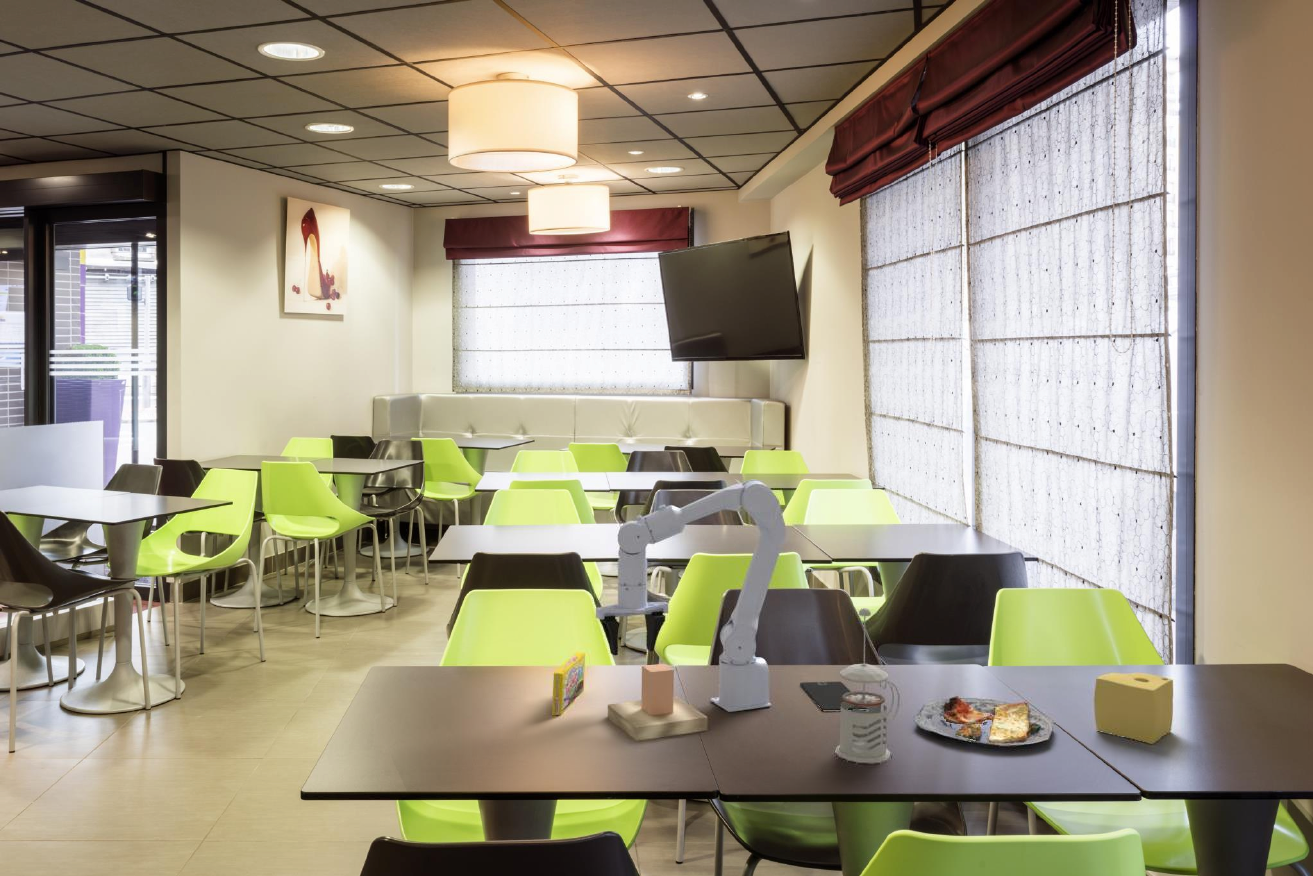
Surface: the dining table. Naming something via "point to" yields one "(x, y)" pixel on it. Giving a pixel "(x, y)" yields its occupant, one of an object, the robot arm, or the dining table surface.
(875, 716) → the french press
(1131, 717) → the cheese
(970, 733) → the food plate
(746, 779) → the dining table surface
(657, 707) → the terracotta block
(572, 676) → the candy box
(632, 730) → the birch block
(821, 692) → the cell phone
